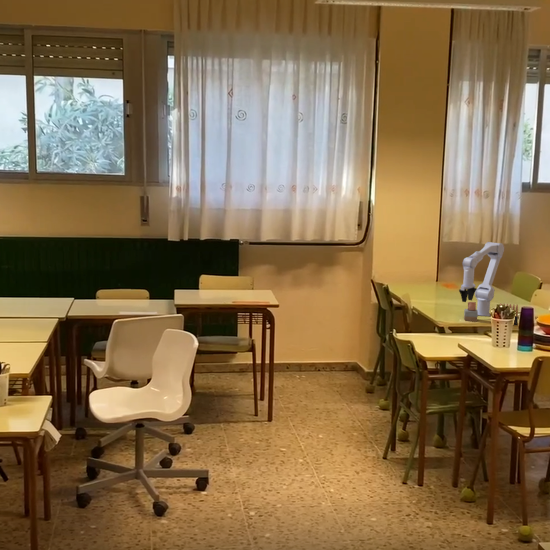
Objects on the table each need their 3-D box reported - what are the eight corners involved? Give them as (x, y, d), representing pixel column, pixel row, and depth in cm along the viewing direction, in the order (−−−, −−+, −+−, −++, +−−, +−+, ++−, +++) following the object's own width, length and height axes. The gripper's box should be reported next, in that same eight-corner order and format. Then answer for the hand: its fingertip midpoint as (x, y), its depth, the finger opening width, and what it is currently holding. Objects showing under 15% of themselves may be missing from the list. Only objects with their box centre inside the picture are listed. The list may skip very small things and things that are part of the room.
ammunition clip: (517, 324, 393) (518, 303, 391) (517, 325, 391) (519, 304, 390) (497, 323, 395) (499, 302, 393) (497, 324, 393) (499, 303, 392)
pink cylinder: (467, 309, 404) (468, 301, 404) (475, 309, 403) (475, 302, 403) (467, 310, 400) (467, 302, 400) (475, 310, 399) (475, 302, 398)
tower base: (463, 318, 407) (464, 313, 406) (476, 319, 405) (476, 314, 404) (464, 321, 400) (464, 316, 399) (476, 322, 398) (477, 317, 398)
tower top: (464, 313, 406) (464, 308, 406) (476, 314, 405) (476, 309, 404) (464, 316, 399) (465, 311, 399) (477, 317, 398) (477, 312, 397)
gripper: (468, 275, 410) (466, 298, 413) (456, 278, 400) (455, 301, 402) (479, 277, 406) (477, 300, 408) (467, 280, 395) (466, 303, 397)
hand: (467, 301), depth 405 cm, fingers open, 7 cm apart
